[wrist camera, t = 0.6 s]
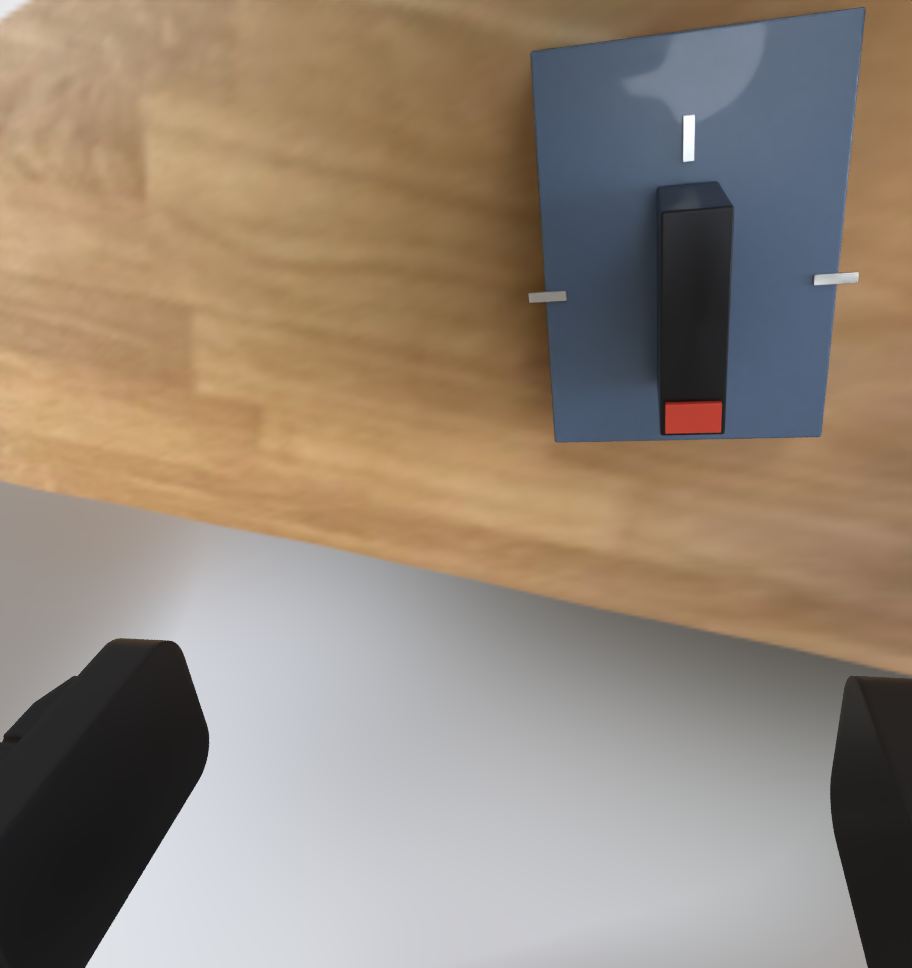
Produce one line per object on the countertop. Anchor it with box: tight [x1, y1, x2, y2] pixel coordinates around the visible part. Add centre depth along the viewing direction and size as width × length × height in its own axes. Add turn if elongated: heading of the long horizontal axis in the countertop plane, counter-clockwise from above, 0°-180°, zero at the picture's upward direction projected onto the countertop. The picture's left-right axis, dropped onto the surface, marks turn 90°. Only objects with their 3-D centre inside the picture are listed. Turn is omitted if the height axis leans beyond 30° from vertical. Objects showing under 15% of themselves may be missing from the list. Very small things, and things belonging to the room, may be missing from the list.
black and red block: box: [657, 181, 735, 436], centre depth 26 cm, size 7×2×5 cm, turn 7°
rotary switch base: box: [528, 7, 865, 442], centre depth 29 cm, size 14×11×3 cm
